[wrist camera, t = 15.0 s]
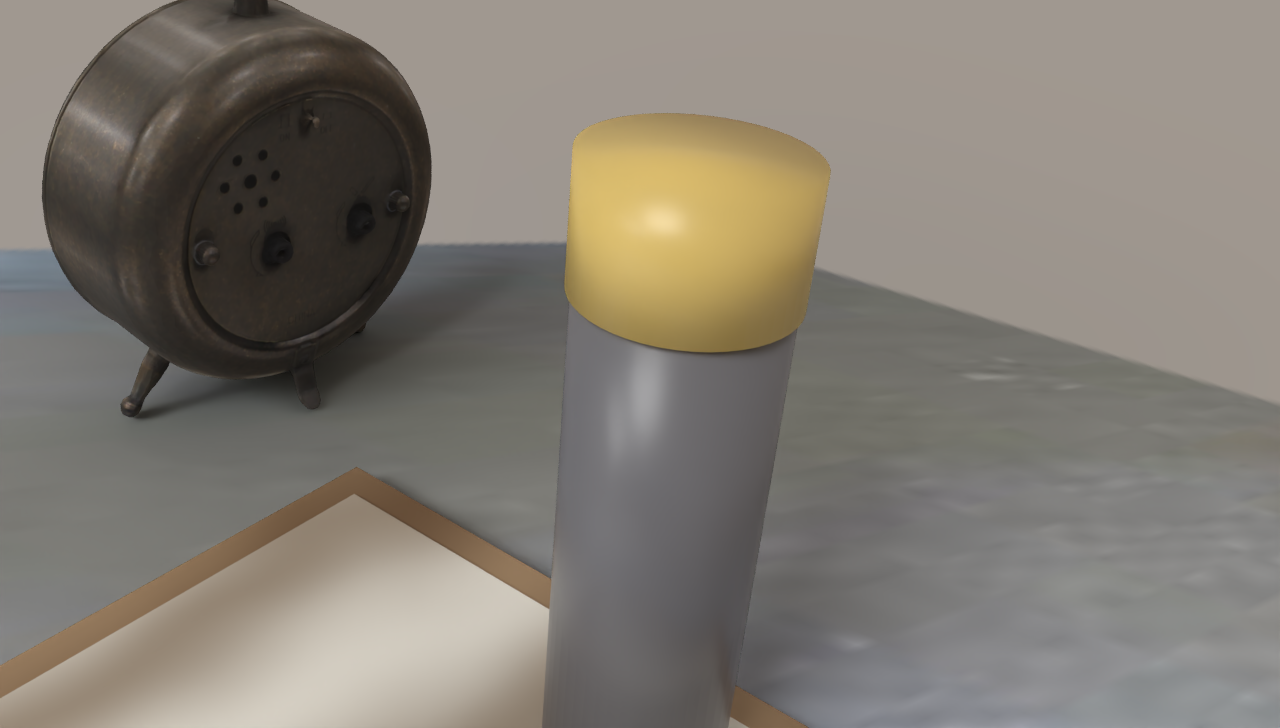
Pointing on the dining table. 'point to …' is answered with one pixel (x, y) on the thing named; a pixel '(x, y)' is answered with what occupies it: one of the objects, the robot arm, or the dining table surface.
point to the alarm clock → (236, 188)
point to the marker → (671, 408)
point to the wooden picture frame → (315, 632)
